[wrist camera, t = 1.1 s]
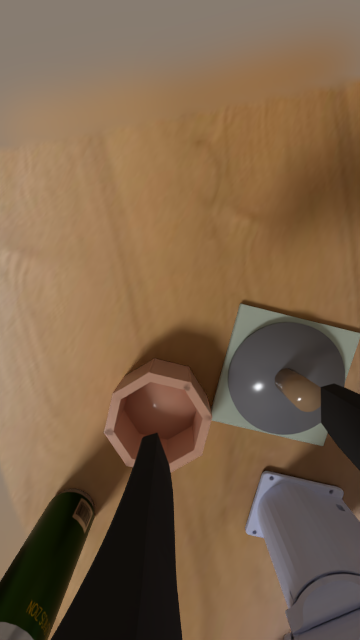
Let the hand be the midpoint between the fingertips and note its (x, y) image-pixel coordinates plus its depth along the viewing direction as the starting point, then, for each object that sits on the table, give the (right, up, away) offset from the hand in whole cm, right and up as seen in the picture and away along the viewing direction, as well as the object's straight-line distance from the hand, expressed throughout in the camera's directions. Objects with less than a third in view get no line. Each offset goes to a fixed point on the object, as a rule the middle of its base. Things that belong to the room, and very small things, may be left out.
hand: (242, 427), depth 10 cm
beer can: (-15, -17, +17) cm, 29 cm away
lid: (+8, -2, +15) cm, 17 cm away
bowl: (-5, -4, +15) cm, 17 cm away
